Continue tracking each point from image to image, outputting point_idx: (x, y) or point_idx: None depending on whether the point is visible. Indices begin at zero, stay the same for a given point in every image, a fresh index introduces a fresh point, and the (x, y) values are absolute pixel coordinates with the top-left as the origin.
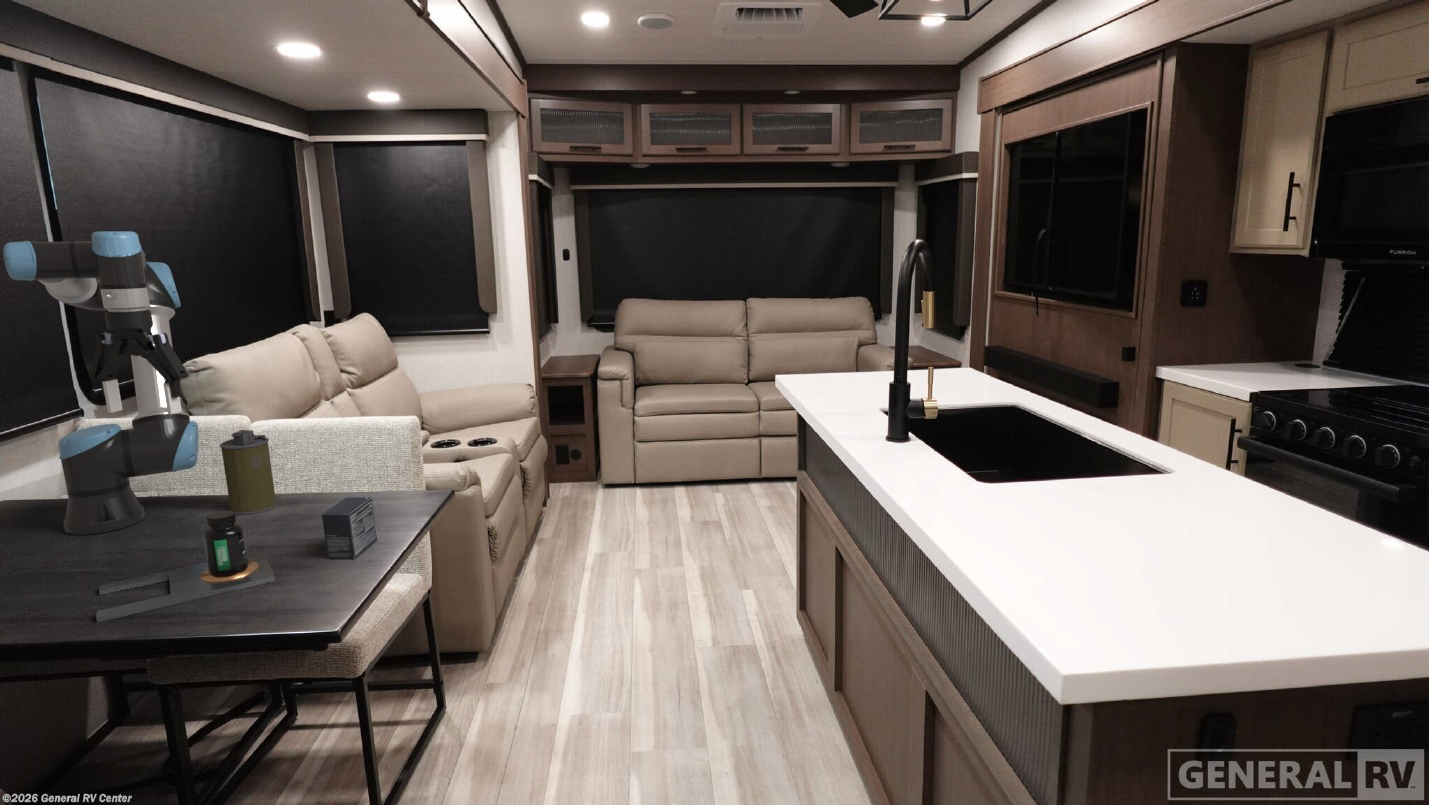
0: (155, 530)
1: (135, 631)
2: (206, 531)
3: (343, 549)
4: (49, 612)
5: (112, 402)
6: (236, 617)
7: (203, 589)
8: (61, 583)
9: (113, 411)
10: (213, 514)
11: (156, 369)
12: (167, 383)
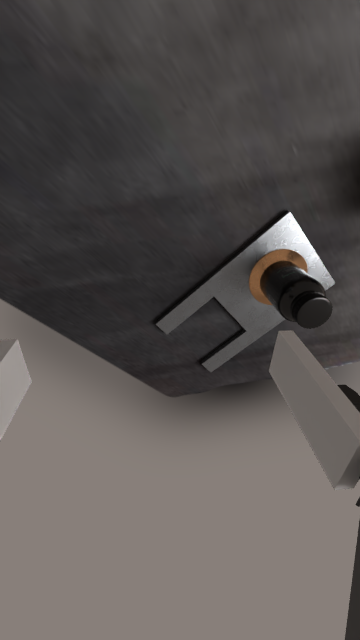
0: (31, 122)
1: (252, 374)
2: (288, 316)
3: None
4: (149, 361)
5: (11, 401)
6: (324, 346)
7: (273, 319)
8: (95, 314)
9: (27, 375)
10: (302, 314)
11: (355, 594)
12: (354, 480)
